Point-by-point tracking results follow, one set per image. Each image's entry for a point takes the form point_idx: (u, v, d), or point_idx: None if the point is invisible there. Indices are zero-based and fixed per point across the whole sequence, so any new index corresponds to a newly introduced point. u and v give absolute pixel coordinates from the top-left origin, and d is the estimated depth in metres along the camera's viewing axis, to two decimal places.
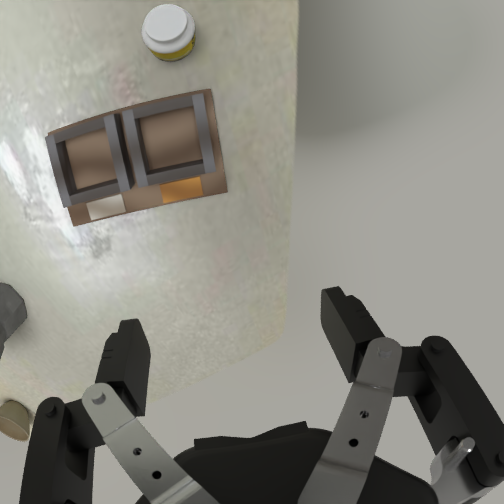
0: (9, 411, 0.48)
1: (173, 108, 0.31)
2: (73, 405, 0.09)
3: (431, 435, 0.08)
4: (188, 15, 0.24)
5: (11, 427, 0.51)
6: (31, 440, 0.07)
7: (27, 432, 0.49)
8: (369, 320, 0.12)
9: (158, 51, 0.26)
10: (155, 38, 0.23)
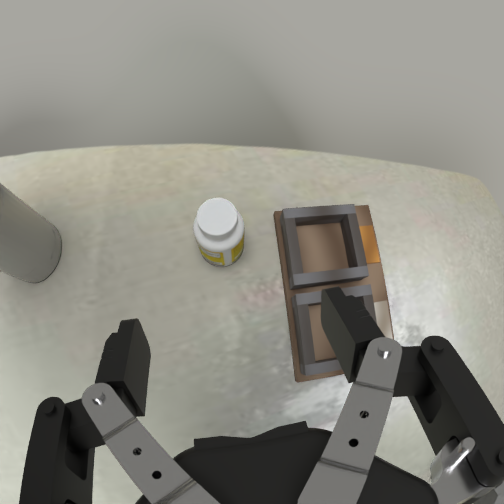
0: None
1: (296, 235, 0.37)
2: (73, 405, 0.09)
3: (431, 436, 0.08)
4: None
5: None
6: (31, 440, 0.07)
7: None
8: (369, 320, 0.12)
9: (242, 235, 0.33)
10: (233, 224, 0.31)
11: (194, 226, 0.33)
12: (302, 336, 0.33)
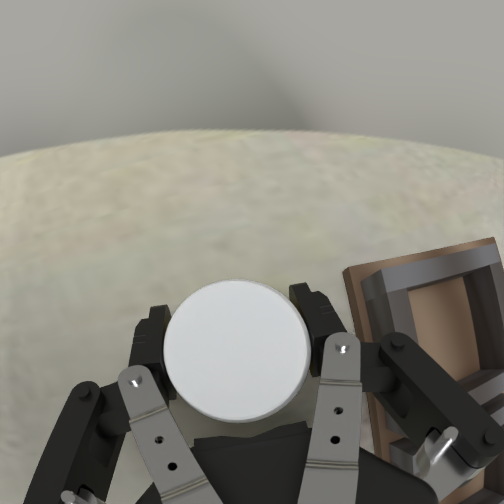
0: None
1: (413, 329, 0.14)
2: (107, 389, 0.10)
3: (407, 429, 0.09)
4: None
5: None
6: (58, 421, 0.08)
7: None
8: (333, 316, 0.12)
9: None
10: (297, 379, 0.08)
11: None
12: None
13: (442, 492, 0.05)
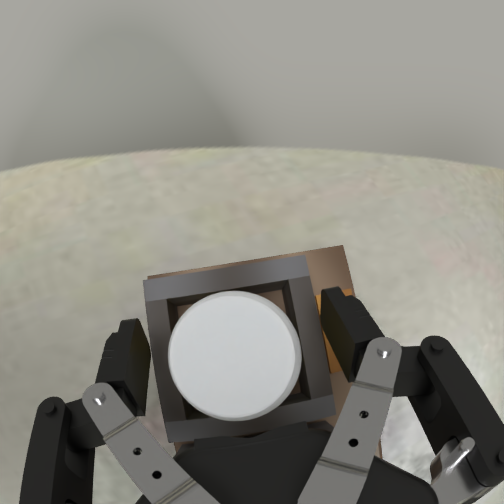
0: None
1: (169, 339, 0.16)
2: (74, 405, 0.09)
3: (431, 435, 0.08)
4: None
5: None
6: (31, 440, 0.07)
7: None
8: (369, 320, 0.12)
9: (297, 375, 0.12)
10: (286, 382, 0.09)
11: None
12: None
13: (445, 502, 0.05)
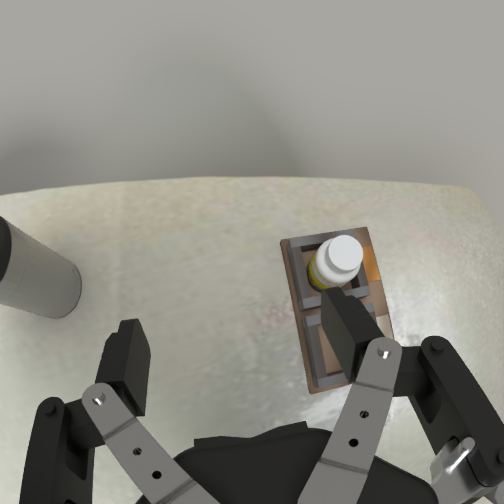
0: None
1: (303, 262, 0.40)
2: (73, 405, 0.09)
3: (431, 435, 0.08)
4: (328, 241, 0.36)
5: None
6: (31, 440, 0.07)
7: None
8: (369, 320, 0.12)
9: (359, 266, 0.36)
10: (361, 259, 0.33)
11: (319, 261, 0.36)
12: (314, 354, 0.37)
13: (445, 503, 0.05)
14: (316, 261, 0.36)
